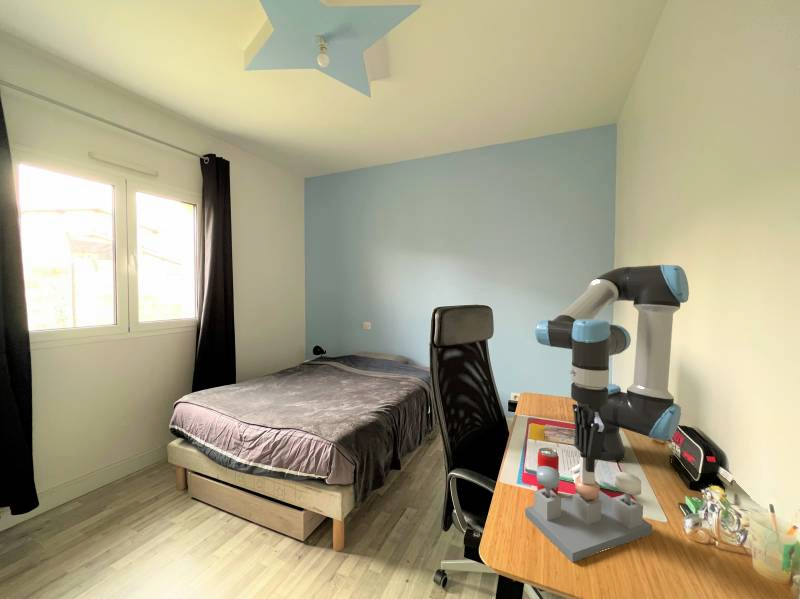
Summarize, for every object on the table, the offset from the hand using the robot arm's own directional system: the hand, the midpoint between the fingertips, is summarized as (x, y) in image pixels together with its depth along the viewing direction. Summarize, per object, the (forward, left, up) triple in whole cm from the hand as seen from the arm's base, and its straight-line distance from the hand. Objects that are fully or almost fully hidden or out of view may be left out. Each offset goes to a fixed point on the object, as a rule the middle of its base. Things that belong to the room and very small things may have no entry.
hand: (586, 481), depth 74 cm
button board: (0, 0, -11) cm, 11 cm away
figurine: (-13, -12, -11) cm, 21 cm away
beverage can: (0, -12, -11) cm, 16 cm away
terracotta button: (0, 0, -7) cm, 7 cm away
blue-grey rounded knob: (+8, -4, -5) cm, 10 cm away
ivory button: (-8, +4, -5) cm, 10 cm away
